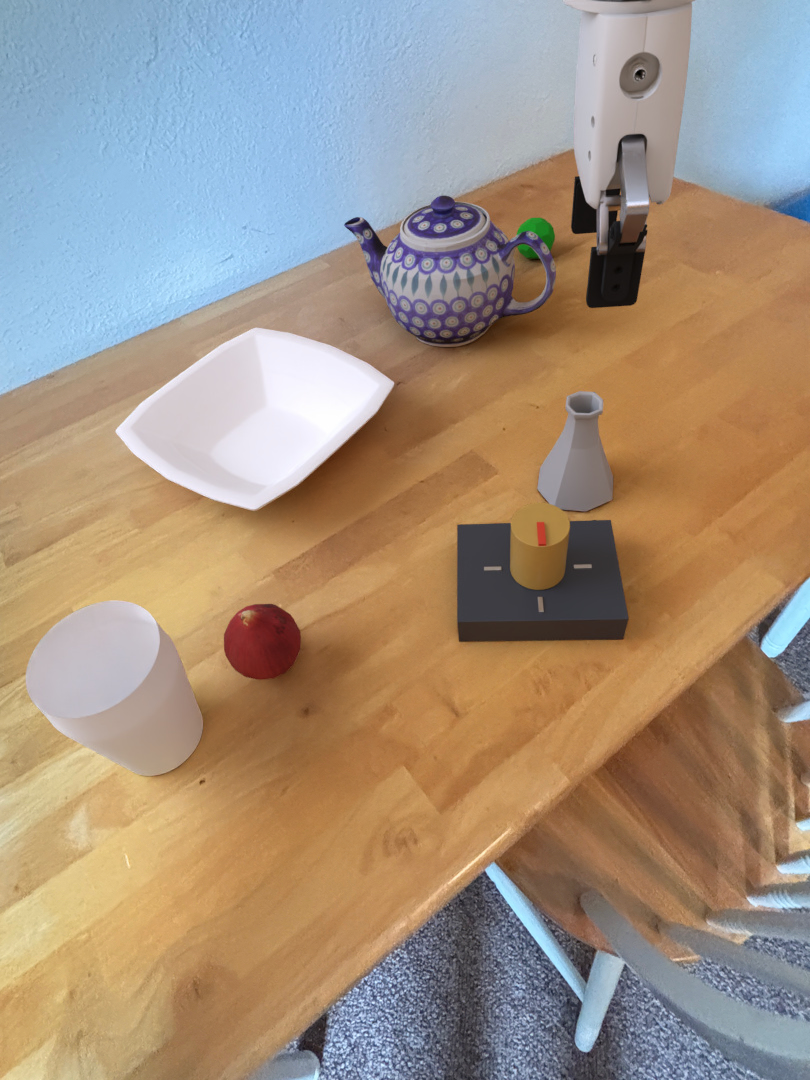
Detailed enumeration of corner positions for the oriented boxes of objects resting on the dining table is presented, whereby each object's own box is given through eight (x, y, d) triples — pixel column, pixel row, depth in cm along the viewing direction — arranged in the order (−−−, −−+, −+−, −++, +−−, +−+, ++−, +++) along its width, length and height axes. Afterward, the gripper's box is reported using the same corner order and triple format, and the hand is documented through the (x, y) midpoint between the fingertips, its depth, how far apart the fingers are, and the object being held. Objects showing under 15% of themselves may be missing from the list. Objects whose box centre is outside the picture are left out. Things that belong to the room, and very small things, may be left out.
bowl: (117, 475, 74) (93, 435, 70) (270, 357, 85) (257, 316, 81) (267, 567, 64) (250, 526, 60) (419, 420, 75) (414, 376, 71)
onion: (272, 624, 60) (246, 567, 54) (324, 655, 58) (303, 599, 52) (225, 675, 58) (192, 622, 51) (277, 710, 55) (248, 658, 49)
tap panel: (606, 541, 62) (611, 518, 60) (623, 639, 56) (629, 617, 53) (458, 545, 64) (457, 523, 61) (458, 641, 57) (457, 620, 55)
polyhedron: (546, 268, 91) (548, 232, 88) (510, 262, 93) (510, 227, 89) (558, 248, 94) (560, 213, 90) (523, 244, 96) (524, 209, 92)
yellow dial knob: (509, 547, 59) (509, 500, 55) (562, 546, 59) (567, 498, 54) (511, 590, 56) (512, 544, 52) (567, 589, 56) (573, 543, 51)
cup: (159, 665, 59) (96, 580, 50) (242, 711, 55) (191, 629, 46) (78, 758, 54) (-7, 682, 45) (164, 815, 51) (90, 746, 42)
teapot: (571, 306, 85) (582, 179, 74) (524, 381, 77) (529, 252, 66) (389, 273, 95) (374, 155, 83) (330, 337, 86) (305, 216, 75)
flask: (528, 464, 69) (532, 382, 62) (601, 453, 69) (614, 369, 61) (546, 519, 65) (552, 438, 57) (624, 507, 64) (641, 424, 57)
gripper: (757, -2, 31) (680, 334, 44) (679, -87, 42) (636, 203, 55) (581, 17, 32) (557, 341, 45) (549, -71, 43) (538, 211, 56)
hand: (601, 265), depth 50 cm, fingers open, 9 cm apart
